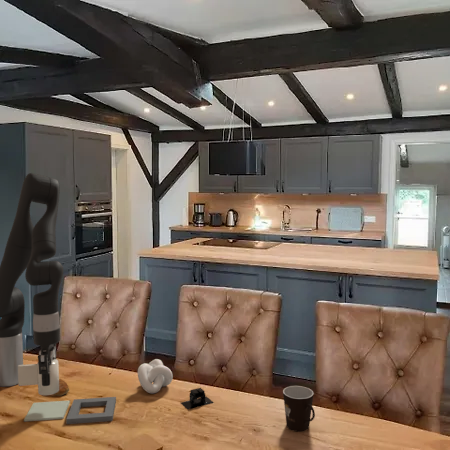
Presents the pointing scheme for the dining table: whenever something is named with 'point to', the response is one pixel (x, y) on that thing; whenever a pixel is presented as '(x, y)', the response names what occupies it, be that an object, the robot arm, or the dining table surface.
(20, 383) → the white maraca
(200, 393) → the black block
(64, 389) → the pastry
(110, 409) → the socket
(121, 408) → the dining table surface
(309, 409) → the coffee mug
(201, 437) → the dining table surface
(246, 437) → the dining table surface
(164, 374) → the white knot sculpture
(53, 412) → the trivet
